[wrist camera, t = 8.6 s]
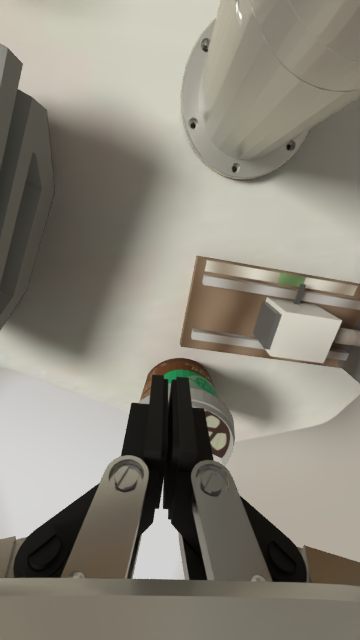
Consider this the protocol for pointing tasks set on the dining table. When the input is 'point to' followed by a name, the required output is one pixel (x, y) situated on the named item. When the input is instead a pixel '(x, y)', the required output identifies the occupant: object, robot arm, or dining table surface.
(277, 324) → the gauge carriage
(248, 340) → the gauge board
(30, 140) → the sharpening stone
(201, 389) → the food container
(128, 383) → the dining table surface
